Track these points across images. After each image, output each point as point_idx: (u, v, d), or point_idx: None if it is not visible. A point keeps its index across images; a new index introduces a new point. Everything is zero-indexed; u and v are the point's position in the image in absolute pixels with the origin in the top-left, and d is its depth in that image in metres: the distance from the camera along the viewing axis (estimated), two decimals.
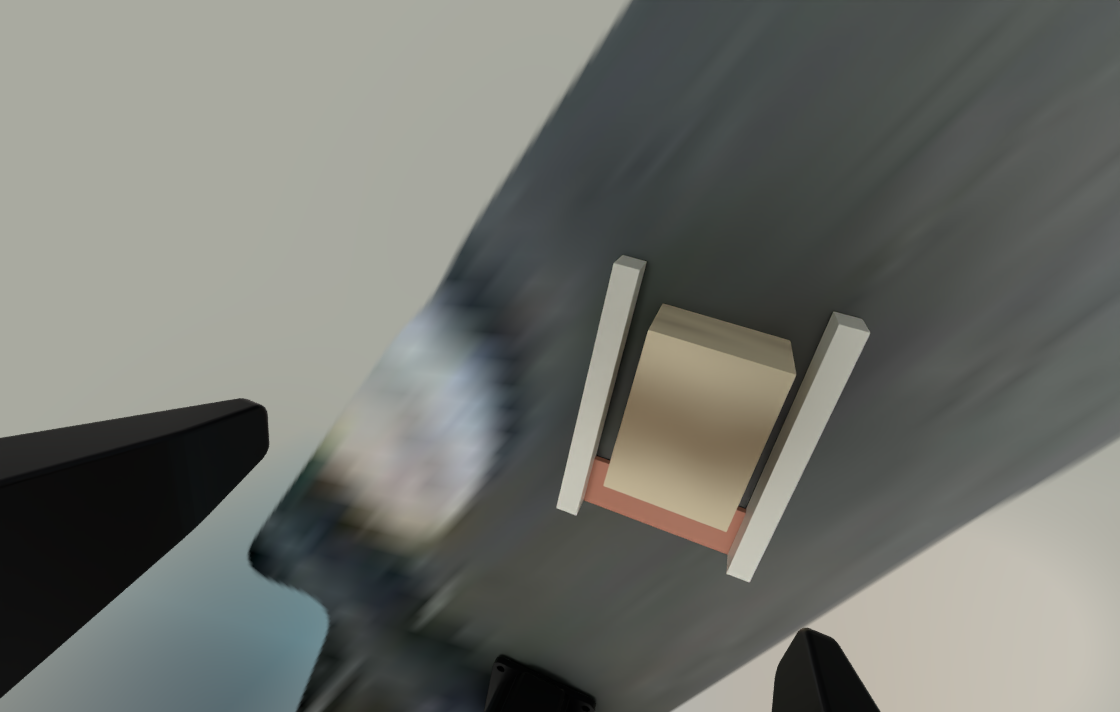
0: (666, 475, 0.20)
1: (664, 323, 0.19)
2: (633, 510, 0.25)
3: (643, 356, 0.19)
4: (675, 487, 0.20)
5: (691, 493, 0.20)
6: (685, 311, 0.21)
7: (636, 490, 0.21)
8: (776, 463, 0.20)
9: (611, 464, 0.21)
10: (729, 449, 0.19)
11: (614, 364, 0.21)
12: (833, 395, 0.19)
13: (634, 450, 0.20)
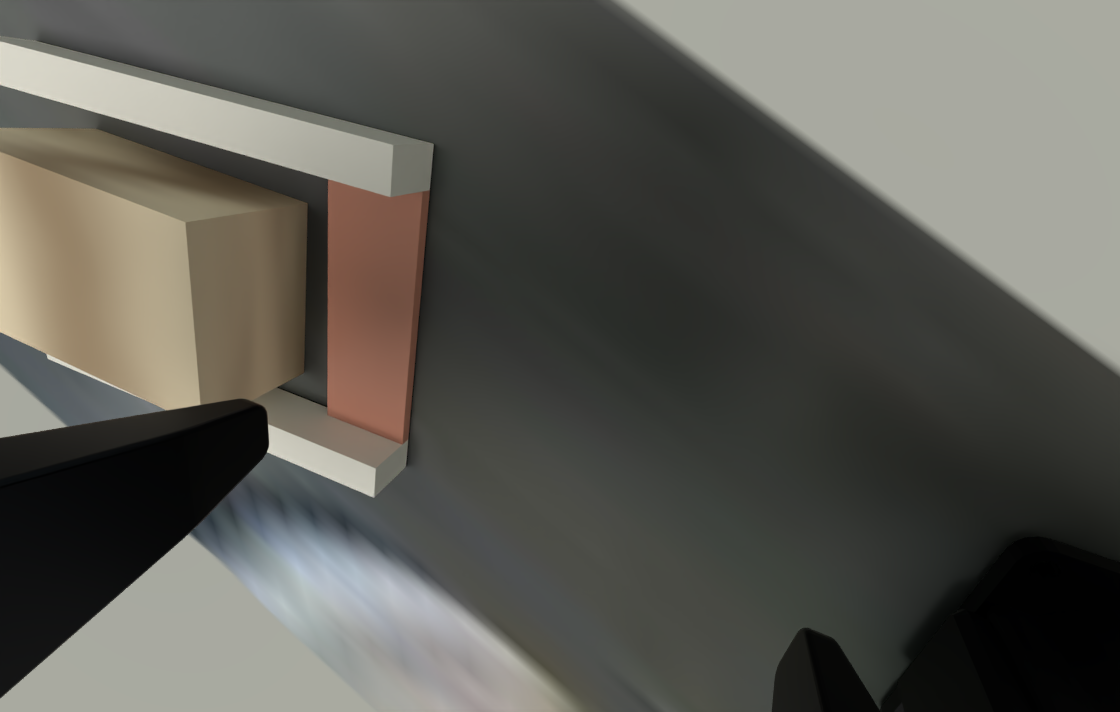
0: (142, 323, 0.12)
1: None
2: (391, 364, 0.14)
3: (19, 337, 0.14)
4: (152, 310, 0.12)
5: (149, 283, 0.11)
6: None
7: (185, 375, 0.12)
8: (159, 129, 0.12)
9: (165, 406, 0.13)
10: (62, 220, 0.11)
11: None
12: (41, 60, 0.12)
13: (129, 368, 0.13)
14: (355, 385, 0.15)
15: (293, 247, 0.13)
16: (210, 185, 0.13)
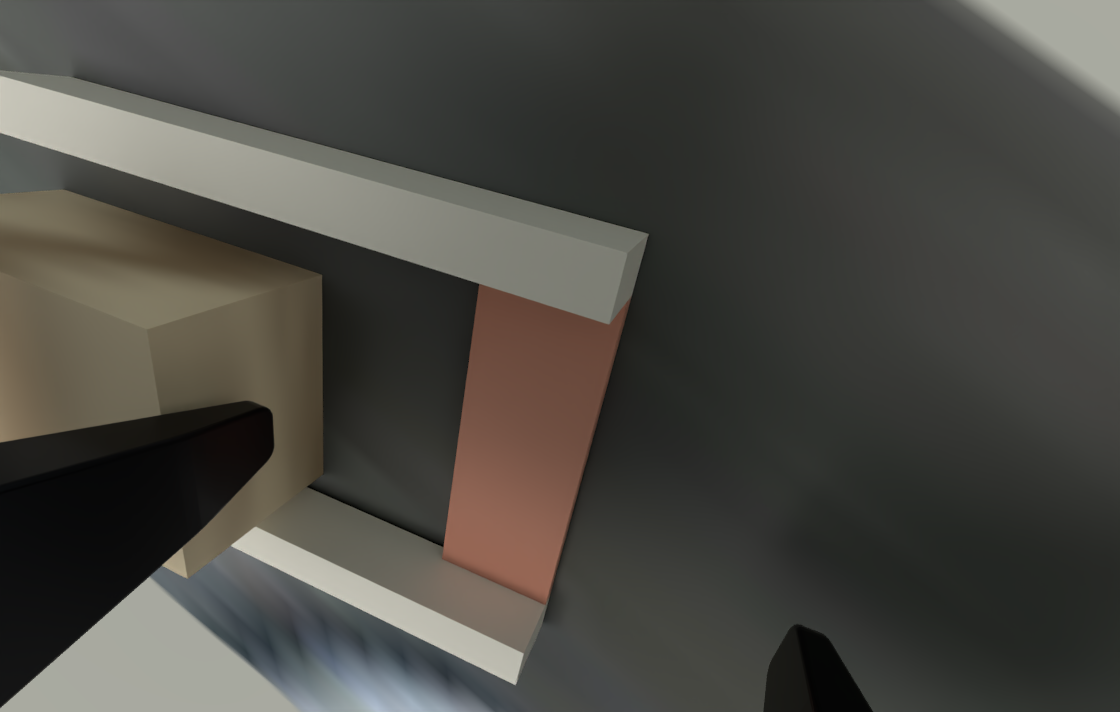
0: None
1: None
2: (544, 512, 0.10)
3: None
4: None
5: (107, 405, 0.08)
6: None
7: None
8: (250, 209, 0.08)
9: None
10: None
11: None
12: (84, 110, 0.09)
13: None
14: (487, 530, 0.11)
15: (300, 333, 0.10)
16: (191, 260, 0.10)
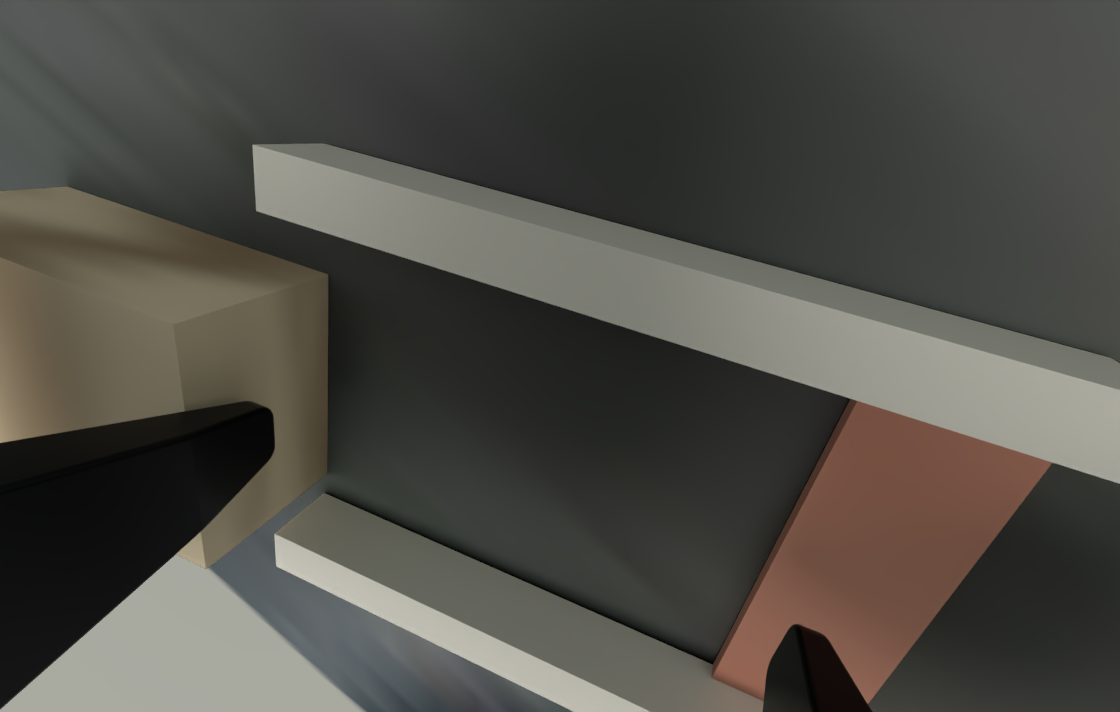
0: None
1: None
2: (873, 643, 0.09)
3: None
4: None
5: (130, 398, 0.09)
6: None
7: None
8: (611, 321, 0.07)
9: None
10: (17, 317, 0.09)
11: (435, 610, 0.11)
12: (398, 199, 0.07)
13: None
14: None
15: (315, 329, 0.10)
16: (209, 257, 0.10)
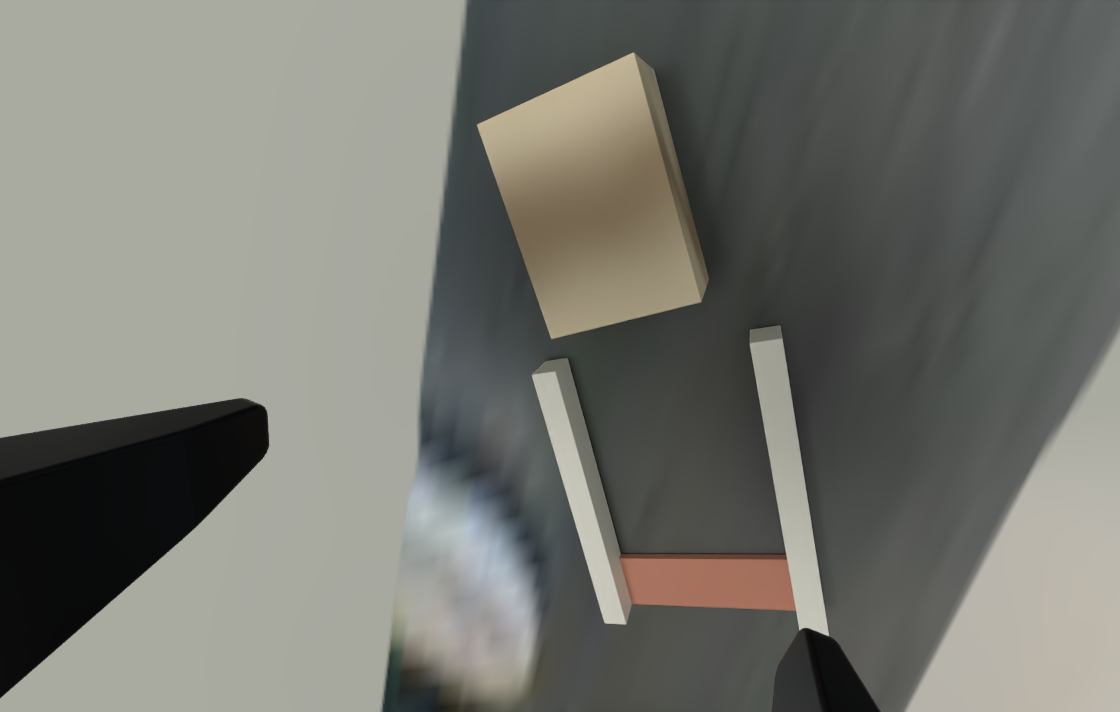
0: (598, 278, 0.16)
1: None
2: (682, 596, 0.23)
3: (491, 157, 0.16)
4: (615, 285, 0.16)
5: (635, 280, 0.16)
6: None
7: (583, 319, 0.17)
8: (777, 499, 0.19)
9: (542, 306, 0.17)
10: (634, 196, 0.15)
11: (580, 463, 0.21)
12: (787, 410, 0.18)
13: (551, 272, 0.17)
14: (653, 576, 0.23)
15: None
16: (691, 229, 0.17)
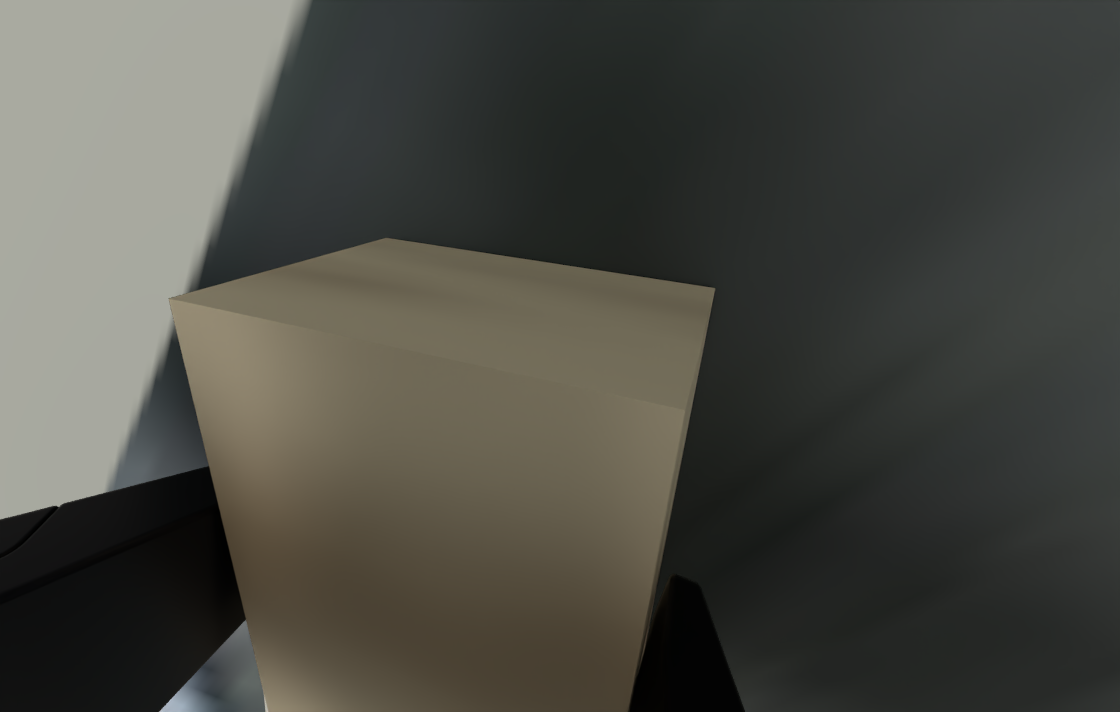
0: None
1: (287, 278, 0.06)
2: None
3: (197, 392, 0.06)
4: None
5: None
6: (425, 251, 0.08)
7: None
8: None
9: (268, 693, 0.08)
10: (528, 678, 0.06)
11: None
12: None
13: (297, 663, 0.07)
14: None
15: None
16: (645, 639, 0.08)
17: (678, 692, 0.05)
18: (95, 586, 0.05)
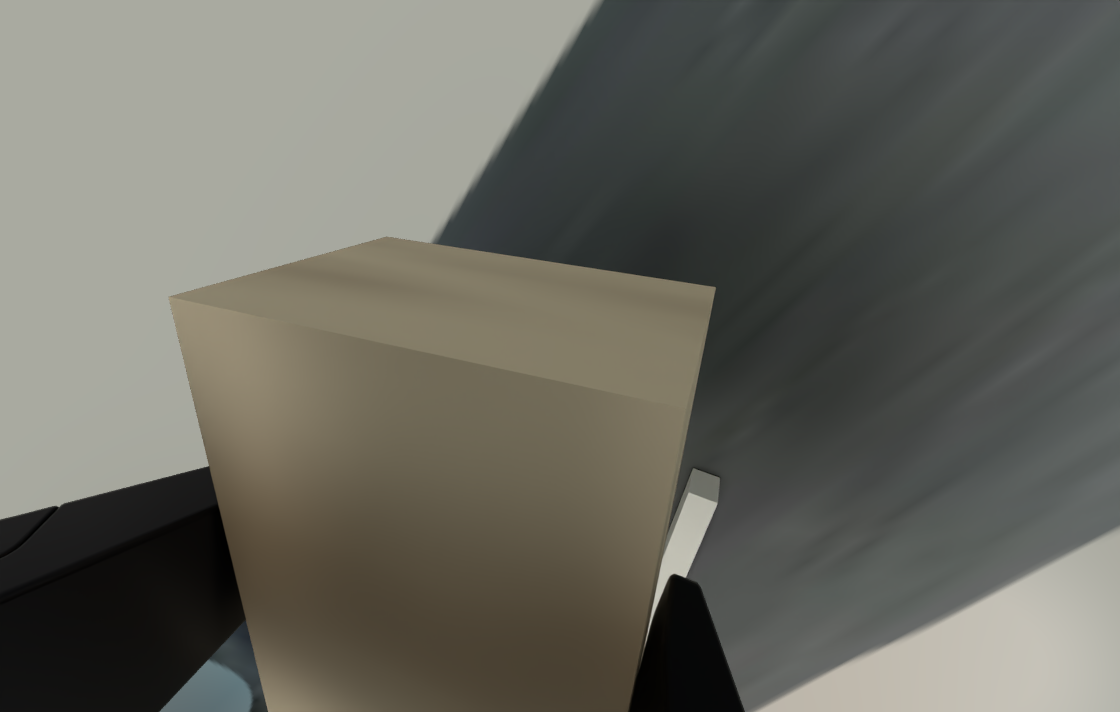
0: None
1: (287, 277, 0.06)
2: None
3: (197, 391, 0.06)
4: None
5: None
6: (426, 250, 0.08)
7: None
8: None
9: (267, 693, 0.07)
10: (529, 679, 0.06)
11: None
12: (689, 554, 0.19)
13: (297, 662, 0.07)
14: None
15: None
16: None
17: (678, 692, 0.05)
18: (96, 586, 0.05)
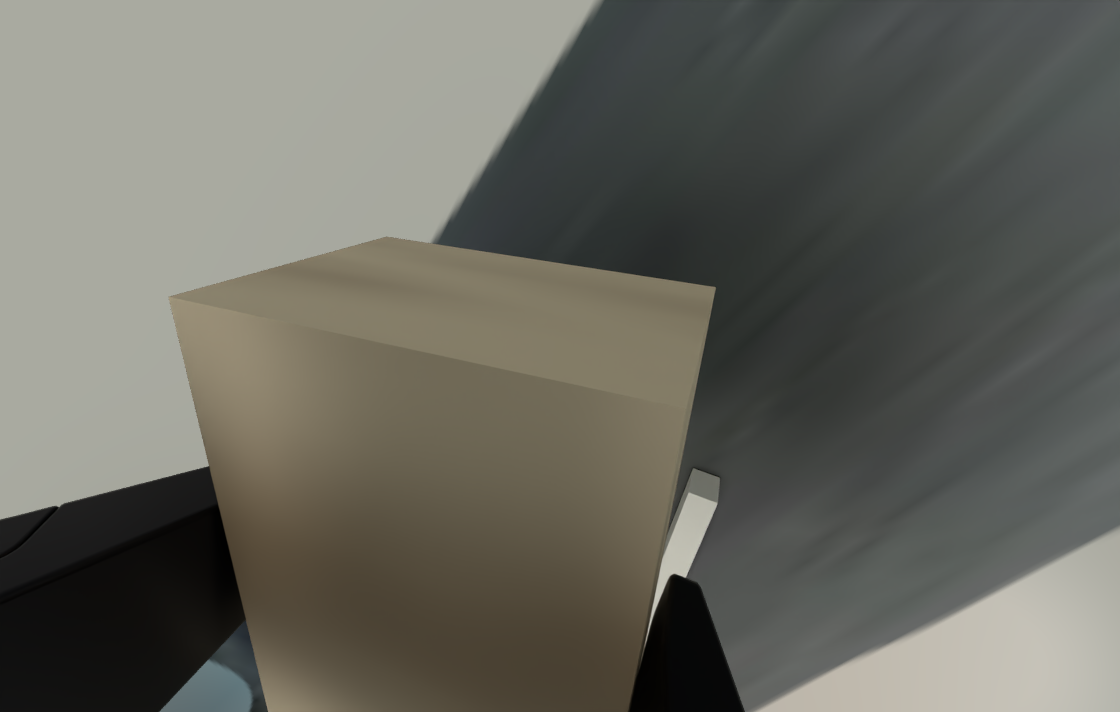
0: None
1: (287, 277, 0.06)
2: None
3: (197, 391, 0.06)
4: None
5: None
6: (426, 250, 0.08)
7: None
8: None
9: (267, 693, 0.07)
10: (529, 679, 0.06)
11: None
12: (689, 554, 0.19)
13: (297, 662, 0.07)
14: None
15: None
16: (645, 639, 0.08)
17: (678, 692, 0.05)
18: (96, 586, 0.05)
